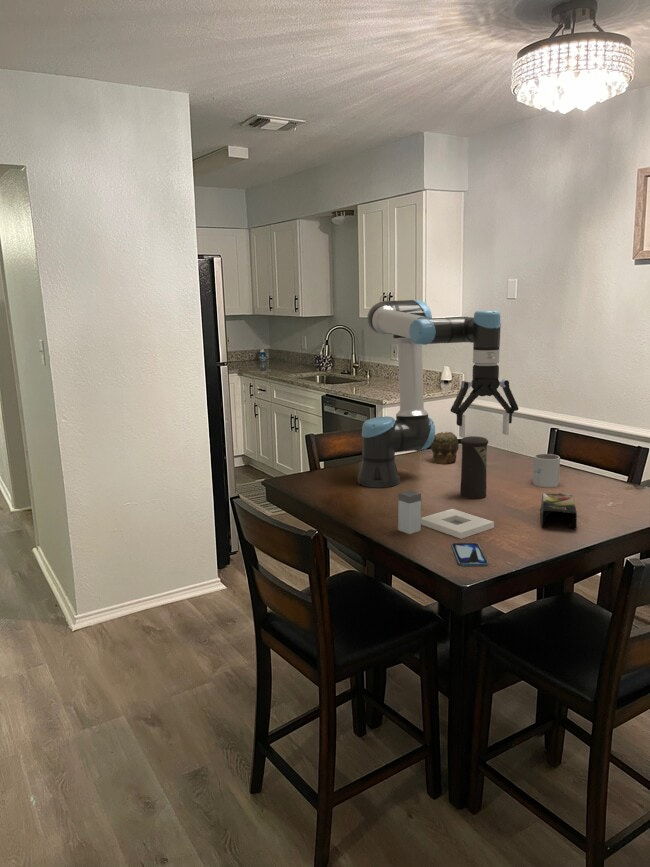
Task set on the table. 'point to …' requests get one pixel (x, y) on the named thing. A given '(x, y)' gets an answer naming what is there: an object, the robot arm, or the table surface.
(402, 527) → the plug
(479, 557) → the smartphone
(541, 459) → the mug
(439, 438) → the brown rounded lump
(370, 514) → the table surface
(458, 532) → the socket
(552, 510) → the juice carton
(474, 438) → the container
